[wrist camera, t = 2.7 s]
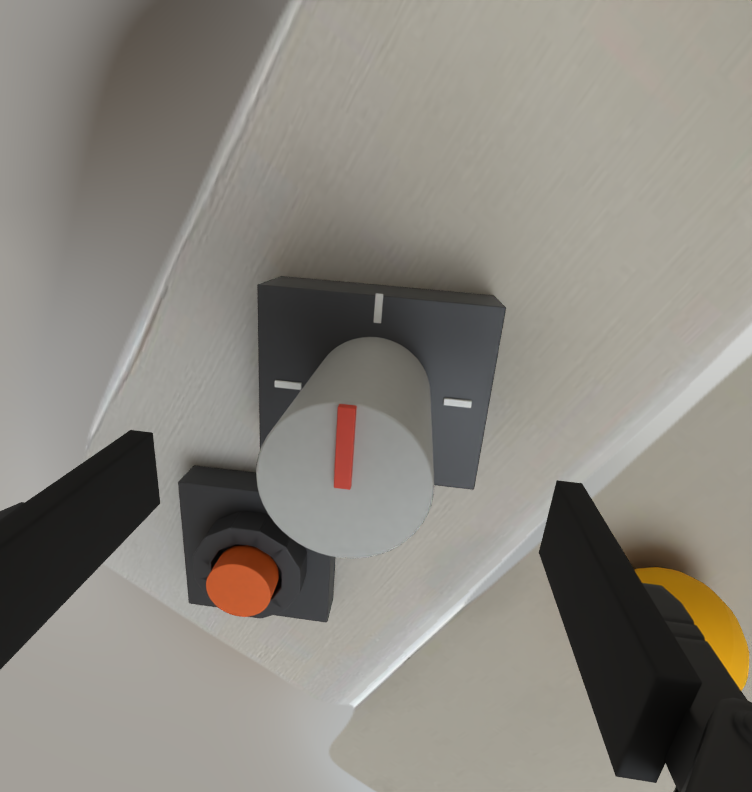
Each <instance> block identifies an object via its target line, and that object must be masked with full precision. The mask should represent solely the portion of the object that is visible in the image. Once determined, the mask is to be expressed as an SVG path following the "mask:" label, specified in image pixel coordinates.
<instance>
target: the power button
mask: <svg viewBox="0 0 752 792" xmlns="http://www.w3.org/2000/svg"><path fill="white" fill-rule="evenodd" d="M278 580H279V571H278V567H277V565H276V563H275V562H274V560H273V559H272V558H271V557H270V556H269V555H268V554H266V553H265V552H263V551H261V550H260V549H258V548H256V547H253V546H248V545H238V546H234V547H231V548H229V549H227V550H225V551H224V552H223V553H222V554H221V556H220V557H219V559H218V561H217V562H216V564H215V566H214V567H213V569H212V570H211V572H210V574H209V575H208V577H207V581H206V590H207V593H208V595H209V597H210V599H211V600H212V602H213V603H214V604H215V605H216V606H217V607H218V608H220V609H221V610H223V611H225V612H227V613H229V614H232V615H235V616H242V617H248V616H253V615H256V614H259V613H261V612H262V611H263V610H265V608H266V607H267V606H268V605H269V602H270V600H271V597H272V595H273V593H274V590H275V588H276V585H277V583H278Z"/></svg>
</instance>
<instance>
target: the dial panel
mask: <svg viewBox="0 0 752 792" xmlns="http://www.w3.org/2000/svg"><path fill="white" fill-rule="evenodd" d="M505 311H506V307H505V306H504V305H503V304H502V303H501V302H500V301H499V300H498V299H497V298H496V297H495V296H494V295H485V294H474V293H463V292H452V291H440V290H429V289H418V288H407V287H396V286H385V285H374V284H363V283H352V282H341V281H330V280H319V279H308V278H297V277H285V276H281V277H278V278H275V279H272V280H269V281H267V282H264V283H261V284H258V347H259V412H260V450H261V447H262V444H263V443H264V441H265V439H266V437H267V435H268V434H269V433H270V431H271V430H272V429H273V427H274V426H275V425H276V423H277V422H278V421H279V419H280V418H281V417H282V415H283V414H284V413H285V411H286V410H287V409H288V407H289V406H290V405H291V403H292V402H293V401H294V399H295V398H296V397H297V395H298V394H299V393H300V391H301V390H302V388H303V387H304V386H305V384H306V383H307V382H308V380H309V379H310V378H311V376H312V375H313V374H314V372H315V371H316V370H317V368H318V367H319V366H320V364H321V363H322V362H323V360H324V359H325V358H326V356H327V355H328V354H329V353H330V352H331V351H332V350H334V349H335V348H336V347H338V346H339V345H341V344H343V343H345V342H347V341H350V340H352V339H357V338H362V337H378V338H384V339H388V340H391V341H393V342H396V343H398V344H400V345H401V346H403V347H405V348H406V349H407V350H409V351H410V352H411V353H412V354H413V355H414V356H415V357H416V358H417V359H418V360H419V362H420V363H421V364H422V366H423V368H424V370H425V372H426V374H427V377H428V380H429V385H430V395H431V420H432V444H433V469H434V485H438V486H447V487H455V488H464V489H472V490H473V489H474V486H475V481H476V475H477V469H478V464H479V458H480V452H481V447H482V441H483V435H484V430H485V424H486V418H487V413H488V407H489V401H490V396H491V390H492V384H493V379H494V373H495V367H496V362H497V356H498V350H499V345H500V339H501V333H502V328H503V322H504V316H505Z"/></svg>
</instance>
